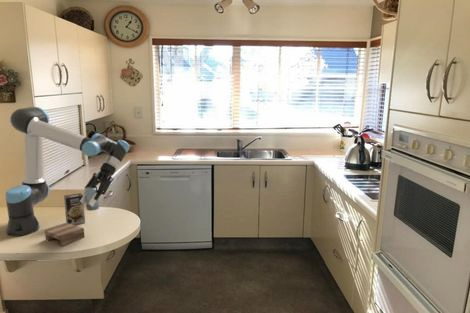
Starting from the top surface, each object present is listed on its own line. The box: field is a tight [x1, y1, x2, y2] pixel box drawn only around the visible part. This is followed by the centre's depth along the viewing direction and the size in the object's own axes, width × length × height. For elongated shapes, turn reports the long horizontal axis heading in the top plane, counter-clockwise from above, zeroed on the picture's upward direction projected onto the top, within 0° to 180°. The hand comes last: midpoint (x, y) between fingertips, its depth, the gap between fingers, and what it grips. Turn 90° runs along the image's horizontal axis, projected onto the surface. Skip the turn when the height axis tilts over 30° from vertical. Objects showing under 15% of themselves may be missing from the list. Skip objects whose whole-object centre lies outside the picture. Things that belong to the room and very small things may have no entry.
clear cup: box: [84, 186, 100, 211], centre depth 183 cm, size 6×6×11 cm
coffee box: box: [63, 192, 86, 226], centre depth 199 cm, size 9×6×16 cm
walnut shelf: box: [44, 222, 85, 247], centre depth 180 cm, size 14×12×5 cm
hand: (86, 203), depth 180 cm, fingers closed on clear cup, 6 cm apart
